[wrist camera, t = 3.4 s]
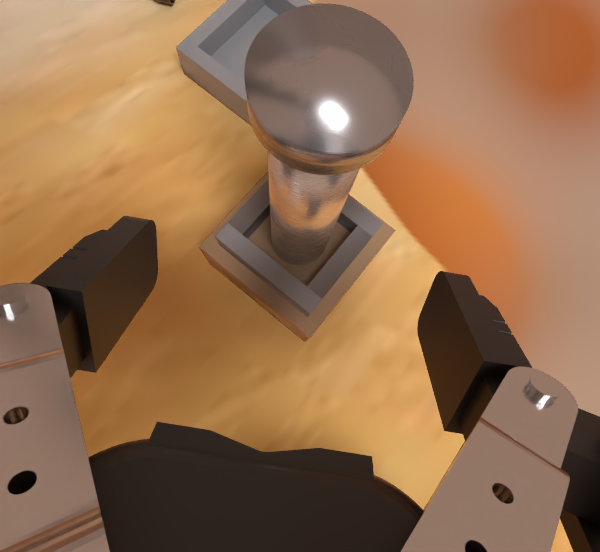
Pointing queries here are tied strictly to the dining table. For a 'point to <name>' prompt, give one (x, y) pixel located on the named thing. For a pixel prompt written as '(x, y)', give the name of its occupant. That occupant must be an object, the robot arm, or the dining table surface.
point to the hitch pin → (321, 114)
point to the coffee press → (166, 1)
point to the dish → (228, 48)
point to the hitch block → (286, 277)
